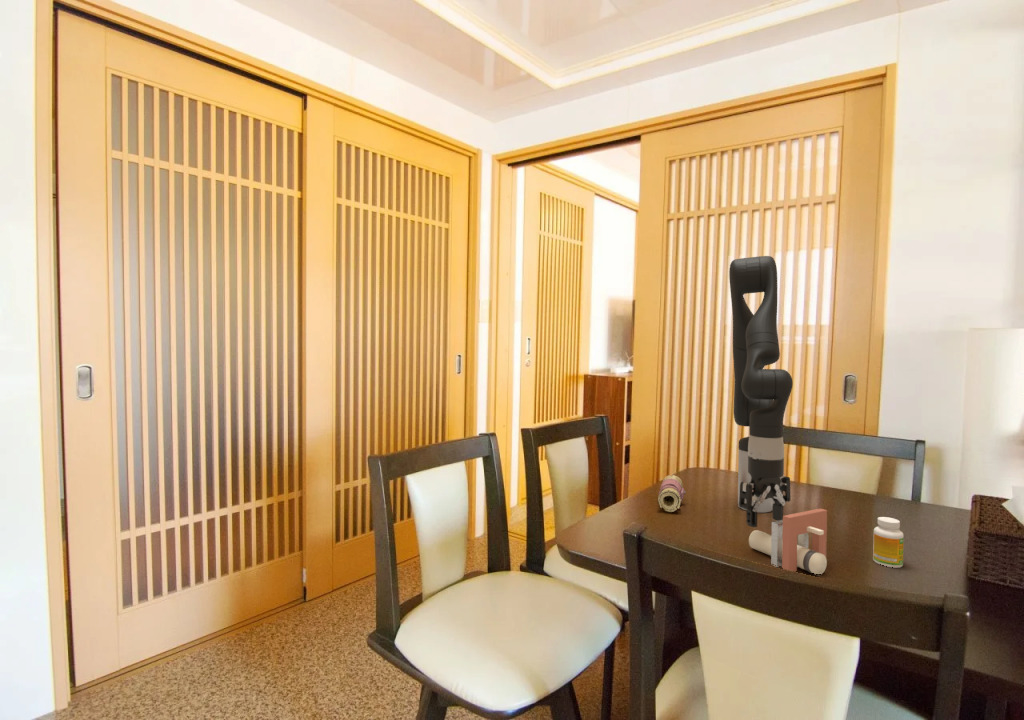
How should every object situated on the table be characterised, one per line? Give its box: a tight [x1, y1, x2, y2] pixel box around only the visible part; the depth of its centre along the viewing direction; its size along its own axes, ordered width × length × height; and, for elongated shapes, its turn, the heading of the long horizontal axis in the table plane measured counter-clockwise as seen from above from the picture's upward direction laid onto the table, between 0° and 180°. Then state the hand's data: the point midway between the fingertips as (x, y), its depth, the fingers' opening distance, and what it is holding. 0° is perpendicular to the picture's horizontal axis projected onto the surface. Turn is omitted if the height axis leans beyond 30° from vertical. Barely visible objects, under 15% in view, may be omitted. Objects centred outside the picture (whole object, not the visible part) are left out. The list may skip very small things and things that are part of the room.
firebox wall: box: [781, 507, 828, 571], centre depth 111 cm, size 12×4×12 cm, turn 115°
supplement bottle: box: [872, 516, 905, 569], centre depth 115 cm, size 5×5×10 cm
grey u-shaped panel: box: [770, 520, 810, 568], centre depth 116 cm, size 10×2×10 cm, turn 115°
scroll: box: [657, 474, 687, 513], centre depth 158 cm, size 8×8×20 cm
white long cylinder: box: [748, 529, 828, 575], centre depth 116 cm, size 16×5×5 cm, turn 25°
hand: (764, 523), depth 122 cm, fingers open, 8 cm apart
